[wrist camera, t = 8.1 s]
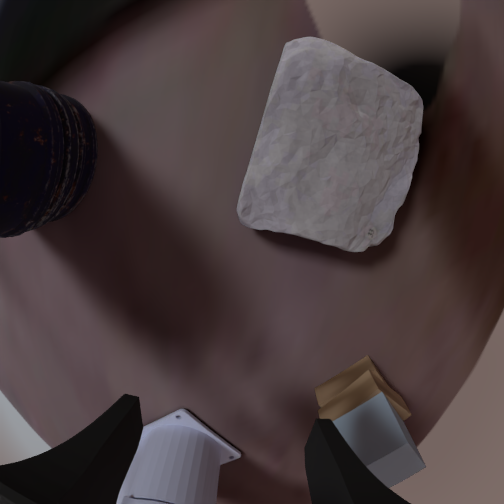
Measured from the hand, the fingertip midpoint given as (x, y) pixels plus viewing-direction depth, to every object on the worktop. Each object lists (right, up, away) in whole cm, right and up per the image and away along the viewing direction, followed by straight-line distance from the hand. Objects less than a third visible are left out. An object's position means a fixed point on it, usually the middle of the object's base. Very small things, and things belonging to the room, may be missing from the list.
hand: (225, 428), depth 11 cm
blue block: (+9, -5, +8) cm, 13 cm away
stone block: (+6, +13, +8) cm, 17 cm away
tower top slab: (+10, -5, +10) cm, 15 cm away
